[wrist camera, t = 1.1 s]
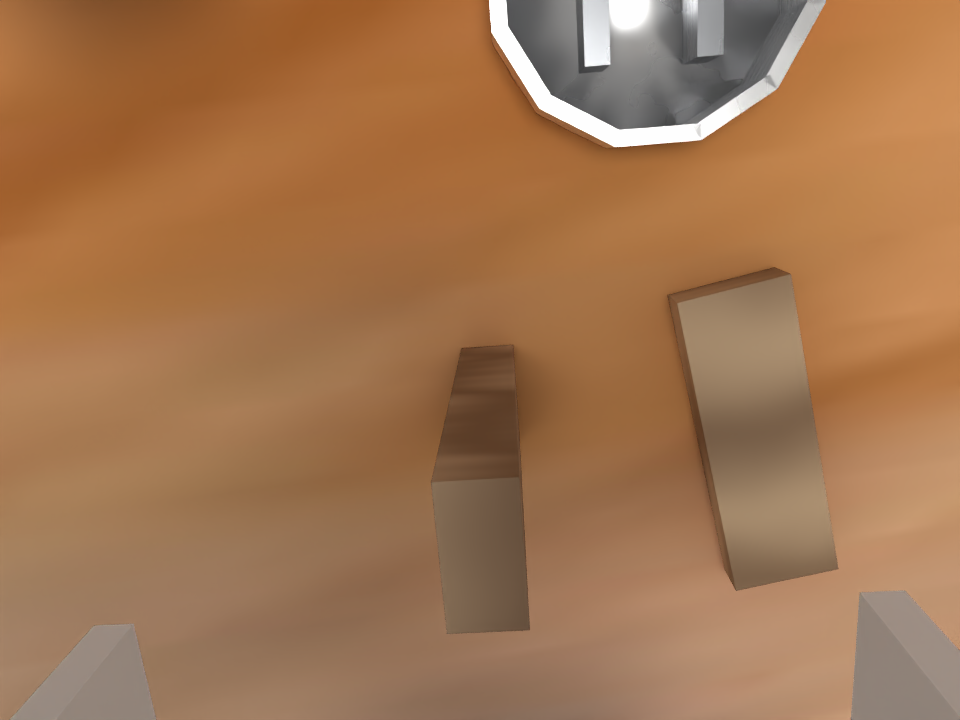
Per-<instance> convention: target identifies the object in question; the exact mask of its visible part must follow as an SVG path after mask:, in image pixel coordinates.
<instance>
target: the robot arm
mask: <svg viewBox="0 0 960 720" xmlns="http://www.w3.org/2000/svg"><path fill="white" fill-rule="evenodd" d="M10 720H156V716H155V712H154V708H153V704H152V699H151V695H150V691H149V687H148V682H147V678H146V674H145V670H144V666H143V661H142V657H141V653H140V649H139V644H138V640H137V636H136V632H135V628H134V624H116V625H94V626H93V627H92V628H91V629H90V630H89V631H88V633H87V634H86V635H85V636H84V637H83V638H82V639H81V640H80V642H79V643H78V644H77V645H76V646H75V647H74V648H73V649H72V651H71V652H70V653H69V654H68V655H67V656H66V657H65V658H64V659H63V661H62V662H61V663H60V664H59V665H58V666H57V667H56V668H55V670H54V671H53V672H52V673H51V674H50V675H49V676H48V677H47V678H46V680H45V681H44V682H43V683H42V684H41V685H40V686H39V687H38V689H37V690H36V691H35V692H34V693H33V694H32V695H31V696H30V697H29V699H28V700H27V701H26V702H25V703H24V704H23V705H22V706H21V708H20V709H19V710H18V711H17V712H16V713H15V714H14V715H13V717H12V718H11V719H10ZM851 720H960V651H959V649H958V648H957V647H956V646H955V645H954V644H953V643H952V642H951V641H950V640H949V638H948V637H947V636H946V635H945V634H944V633H943V632H942V631H941V630H940V629H939V627H938V626H937V625H936V624H935V623H934V622H933V621H932V620H931V619H930V618H929V616H928V615H927V614H926V613H925V612H924V611H923V610H922V609H921V608H920V607H919V605H918V604H917V603H916V602H915V601H914V600H913V599H912V598H911V597H910V596H909V594H908V593H907V592H906V591H883V592H860V596H859V610H858V625H857V639H856V654H855V668H854V682H853V697H852V711H851Z"/></svg>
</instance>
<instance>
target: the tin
mask: <svg viewBox="0 0 960 720" xmlns="http://www.w3.org/2000/svg"><path fill="white" fill-rule="evenodd" d="M489 1H490V16H491V30H492V32H491V33H492V43H493V46H494V47H495V49H496V51H497V52H498V54H499V55H500V57H501V58H502V60H503V62H504V63H505V65H506V66H507V68H508V70H509V72H510V73H511V75H512V77H513V79H514V81H515V82H516V84H517V85H518V86H519V88H520V89H521V90H522V92H523V93H524V95H525V96H526V98H527V99H528V101H529V103H530V104H531V106H532V107H533V109H534V111H535V112H536V114H539V115H541V116H543V117H545V118H547V119H548V120H550V121H552V122H554V123H556V124H558V125H560V126H561V127H563V128H565V129H567V130H568V131H570V132H572V133H575V134H577V135H580V136H582V137H584V138H586V139H588V140H590V141H592V142H594V143H596V144H598V145H600V146H602V147H604V148H612V147H623V146H636V145H648V144H660V143H673V142H687V141H698V140H702V139H703V138H705V137H706V136H708V135H709V134H711V133H712V132H714V131H715V130H717V129H718V128H720V127H721V126H723V125H724V124H726V123H727V122H729V121H730V120H732V119H733V118H735V117H736V116H738V115H739V114H741V113H742V112H744V111H745V110H746V109H748V108H749V107H751V106H752V105H754V104H755V103H757V102H758V101H760V100H761V99H763V98H764V97H766V96H767V95H769V94H770V93H772V92H773V91H775V90H776V89H778V87H779V85H780V83H781V81H782V80H783V78H784V76H785V74H786V72H787V71H788V69H789V67H790V65H791V64H792V62H793V60H794V58H795V56H796V55H797V53H798V51H799V49H800V47H801V46H802V44H803V42H804V40H805V38H806V37H807V35H808V33H809V31H810V29H811V28H812V26H813V24H814V22H815V20H816V19H817V17H818V15H819V13H820V11H821V10H822V8H823V6H824V4H825V3H826V0H489Z"/></svg>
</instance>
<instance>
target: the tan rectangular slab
mask: <svg viewBox="0 0 960 720" xmlns="http://www.w3.org/2000/svg"><path fill="white" fill-rule="evenodd" d="M668 299H669V304H670V309H671V314H672V319H673V323H674V328H675V333H676V338H677V343H678V347H679V352H680V357H681V362H682V367H683V372H684V376H685V381H686V386H687V391H688V396H689V400H690V405H691V410H692V415H693V420H694V424H695V429H696V434H697V439H698V444H699V448H700V453H701V458H702V463H703V468H704V473H705V477H706V482H707V487H708V492H709V497H710V501H711V506H712V511H713V516H714V521H715V525H716V530H717V535H718V540H719V545H720V550H721V554H722V559H723V564H724V569H725V571H726V573H727V575H728V577H729V579H730V580H731V582H732V584H733V586H734V588H735V590H736V591H737V590H742V589H747V588H751V587H756V586H761V585H766V584H770V583H775V582H780V581H784V580H789V579H794V578H799V577H803V576H808V575H813V574H817V573H822V572H827V571H832V570H836V569H838V564H837V558H836V551H835V545H834V539H833V533H832V526H831V520H830V514H829V508H828V502H827V495H826V489H825V483H824V477H823V471H822V464H821V458H820V452H819V446H818V440H817V433H816V427H815V421H814V415H813V408H812V402H811V396H810V390H809V384H808V377H807V371H806V365H805V359H804V353H803V346H802V340H801V334H800V328H799V321H798V315H797V309H796V303H795V297H794V290H793V284H792V278H791V274H789V273H787V272H784V271H782V270H780V269H777V268H775V267H774V268H770V269H766V270H763V271H759V272H755V273H751V274H747V275H743V276H739V277H735V278H732V279H728V280H724V281H720V282H716V283H712V284H708V285H704V286H700V287H697V288H693V289H689V290H685V291H681V292H677V293H673V294H669V295H668Z"/></svg>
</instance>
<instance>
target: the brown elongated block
mask: <svg viewBox="0 0 960 720" xmlns="http://www.w3.org/2000/svg"><path fill="white" fill-rule="evenodd" d="M431 486H432V496H433V505H434V515H435V524H436V534H437V544H438V553H439V563H440V572H441V582H442V591H443V601H444V611H445V620H446V630H447V634H458V633H480V632H501V631H523V630H530V625H529V606H528V587H527V568H526V549H525V530H524V511H523V492H522V473H521V454H520V437H519V422H518V407H517V393H516V378H515V363H514V348H513V345H504V346H489V347H474V348H462V349H461V353H460V357H459V362H458V366H457V371H456V375H455V379H454V384H453V388H452V393H451V397H450V401H449V406H448V410H447V415H446V419H445V423H444V428H443V432H442V437H441V441H440V445H439V450H438V454H437V459H436V463H435V467H434V472H433V476H432V480H431Z"/></svg>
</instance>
